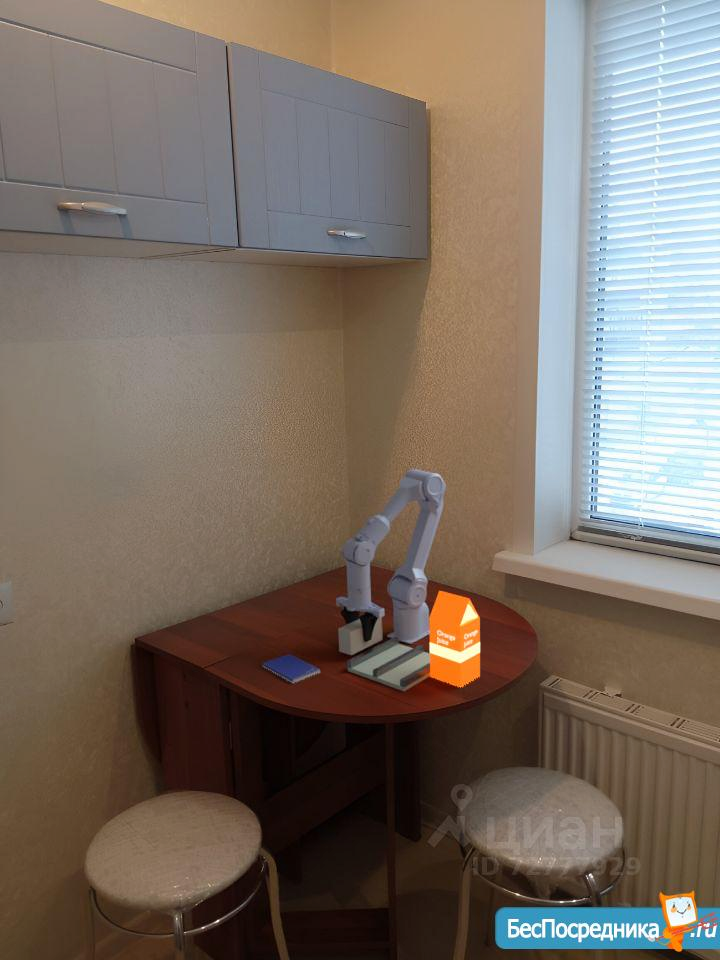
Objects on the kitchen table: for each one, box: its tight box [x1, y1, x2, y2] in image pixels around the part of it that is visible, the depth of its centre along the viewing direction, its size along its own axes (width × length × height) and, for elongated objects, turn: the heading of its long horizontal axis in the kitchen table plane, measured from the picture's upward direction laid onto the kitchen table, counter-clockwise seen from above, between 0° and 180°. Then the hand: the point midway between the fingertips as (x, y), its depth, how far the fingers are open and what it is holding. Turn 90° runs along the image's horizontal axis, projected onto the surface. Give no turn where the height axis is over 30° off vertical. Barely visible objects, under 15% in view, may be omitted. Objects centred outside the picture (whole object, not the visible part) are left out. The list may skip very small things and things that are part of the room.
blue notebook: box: [262, 653, 321, 684], centre depth 181 cm, size 2×8×12 cm
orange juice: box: [429, 590, 481, 689], centre depth 173 cm, size 8×9×20 cm
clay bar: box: [337, 617, 383, 656], centre depth 191 cm, size 12×4×6 cm, turn 138°
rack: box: [346, 637, 430, 692], centre depth 181 cm, size 18×17×2 cm
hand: (360, 638), depth 191 cm, fingers closed on clay bar, 4 cm apart
